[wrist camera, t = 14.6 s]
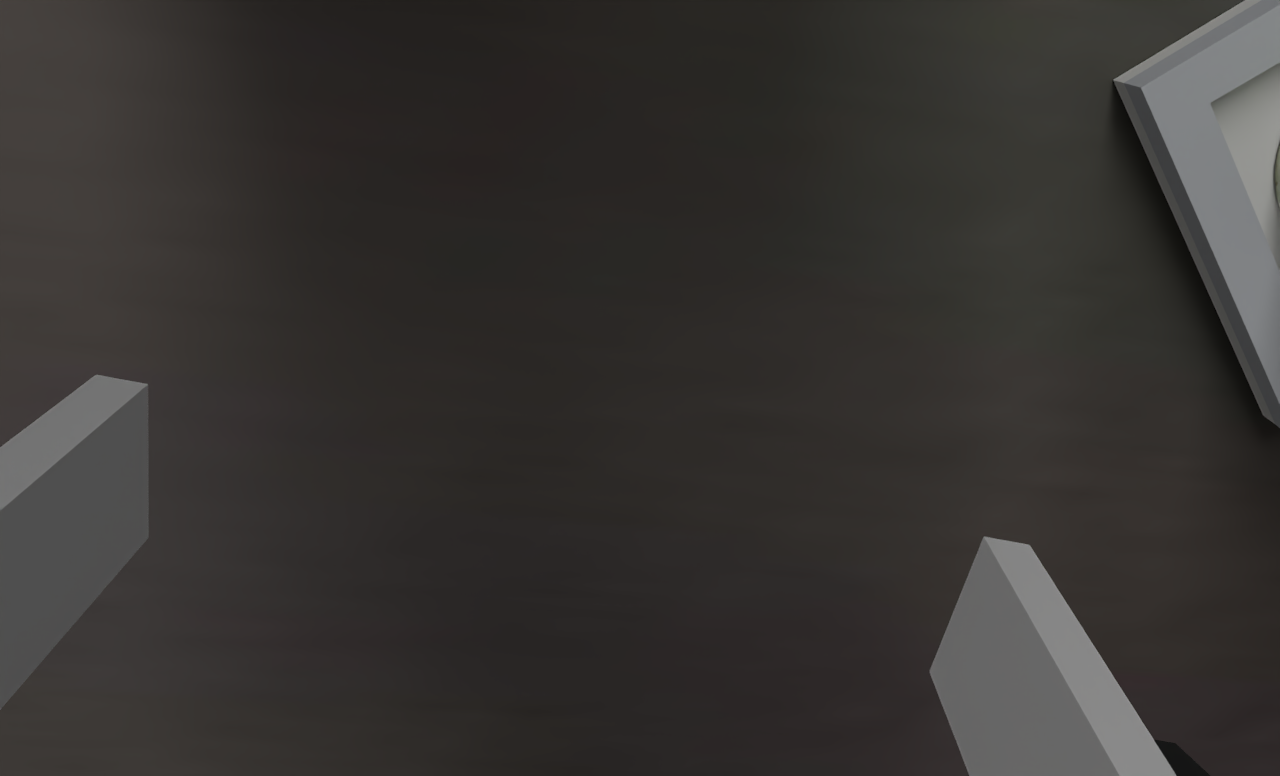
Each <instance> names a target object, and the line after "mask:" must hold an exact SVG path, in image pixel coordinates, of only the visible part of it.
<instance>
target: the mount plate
mask: <svg viewBox="0 0 1280 776" xmlns="http://www.w3.org/2000/svg"><path fill="white" fill-rule="evenodd" d="M1113 81H1114V83H1115V86H1116V88H1117V90H1118V92H1119V95H1120V97H1121V99H1122V101H1123V104H1124V106H1125V108H1126V110H1127V113H1128V115H1129V117H1130V119H1131V121H1132V124H1133V126H1134V128H1135V130H1136V133H1137V135H1138V137H1139V139H1140V142H1141V144H1142V146H1143V148H1144V151H1145V153H1146V155H1147V157H1148V159H1149V162H1150V164H1151V166H1152V168H1153V171H1154V173H1155V175H1156V177H1157V180H1158V182H1159V184H1160V186H1161V188H1162V191H1163V193H1164V195H1165V197H1166V200H1167V202H1168V204H1169V206H1170V209H1171V211H1172V213H1173V215H1174V218H1175V220H1176V222H1177V224H1178V226H1179V229H1180V231H1181V233H1182V235H1183V238H1184V240H1185V242H1186V244H1187V247H1188V249H1189V251H1190V253H1191V256H1192V258H1193V260H1194V262H1195V264H1196V267H1197V269H1198V271H1199V273H1200V276H1201V278H1202V280H1203V282H1204V285H1205V287H1206V289H1207V291H1208V293H1209V296H1210V298H1211V300H1212V302H1213V305H1214V307H1215V309H1216V311H1217V314H1218V316H1219V318H1220V320H1221V323H1222V325H1223V327H1224V329H1225V331H1226V334H1227V336H1228V338H1229V340H1230V343H1231V345H1232V347H1233V349H1234V352H1235V354H1236V356H1237V358H1238V361H1239V363H1240V365H1241V367H1242V369H1243V372H1244V374H1245V376H1246V378H1247V381H1248V383H1249V385H1250V387H1251V390H1252V392H1253V394H1254V396H1255V398H1256V401H1257V403H1258V405H1259V407H1260V410H1261V412H1262V414H1263V416H1265V417H1266V418H1267V419H1269V420H1270V421H1271V422H1273V423H1274V424H1275V425H1277V426H1278V427H1279V428H1280V207H1279V204H1278V200H1277V195H1276V186H1275V164H1276V158H1277V152H1278V149H1279V145H1280V0H1245V1H1243V2H1241V3H1240V4H1238V5H1236V6H1235V7H1233V8H1231V9H1230V10H1228V11H1226V12H1225V13H1223V14H1221V15H1220V16H1218V17H1217V18H1215V19H1213V20H1212V21H1210V22H1208V23H1207V24H1205V25H1203V26H1202V27H1200V28H1198V29H1197V30H1195V31H1193V32H1192V33H1190V34H1188V35H1187V36H1185V37H1183V38H1182V39H1180V40H1178V41H1177V42H1175V43H1173V44H1172V45H1170V46H1168V47H1167V48H1165V49H1163V50H1162V51H1160V52H1158V53H1157V54H1155V55H1154V56H1152V57H1150V58H1149V59H1147V60H1145V61H1144V62H1142V63H1140V64H1139V65H1137V66H1135V67H1134V68H1132V69H1130V70H1129V71H1127V72H1125V73H1124V74H1122V75H1120V76H1119V77H1117V78H1115V79H1114V80H1113Z"/></svg>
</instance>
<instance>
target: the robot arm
mask: <svg viewBox="0 0 1280 776" xmlns="http://www.w3.org/2000/svg"><path fill="white" fill-rule="evenodd" d="M147 539H148V384H144V383H138V382H133V381H127V380H122V379H116V378H111V377H105V376H100V375H95V376H94V377H92V378H91V379H90V380H89V381H87V382H86V383H85V384H83V385H82V386H81V387H79V388H78V389H77V390H75V391H74V392H73V393H71V394H70V395H69V396H67V397H66V398H65V399H63V400H62V401H61V402H60V403H58V404H57V405H56V406H54V407H53V408H52V409H50V410H49V411H48V412H46V413H45V414H44V415H42V416H41V417H40V418H38V419H37V420H36V421H34V422H33V423H32V424H31V425H29V426H28V427H27V428H25V429H24V430H23V431H21V432H20V433H19V434H17V435H16V436H15V437H13V438H12V439H11V440H9V441H8V442H7V443H5V444H4V445H3V446H1V447H0V709H1V708H2V707H3V706H4V705H5V703H6V702H7V701H8V700H9V699H10V698H11V696H12V695H13V694H14V693H15V692H16V691H17V690H18V688H19V687H20V686H21V685H22V684H23V683H24V681H25V680H26V679H27V678H28V677H29V676H30V674H31V673H32V672H33V671H34V670H35V669H36V667H37V666H38V665H39V664H40V663H41V662H42V661H43V659H44V658H45V657H46V656H47V655H48V654H49V652H50V651H51V650H52V649H53V648H54V647H55V645H56V644H57V643H58V642H59V641H60V640H61V638H62V637H63V636H64V635H65V634H66V633H67V632H68V630H69V629H70V628H71V627H72V626H73V625H74V623H75V622H76V621H77V620H78V619H79V618H80V616H81V615H82V614H83V613H84V612H85V611H86V609H87V608H88V607H89V606H90V605H91V604H92V603H93V601H94V600H95V599H96V598H97V597H98V596H99V594H100V593H101V592H102V591H103V590H104V589H105V587H106V586H107V585H108V584H109V583H110V582H111V580H112V579H113V578H114V577H115V576H116V575H117V573H118V572H119V571H120V570H121V569H122V568H123V567H124V565H125V564H126V563H127V562H128V561H129V560H130V558H131V557H132V556H133V555H134V554H135V553H136V551H137V550H138V549H139V548H140V547H141V546H142V544H143V543H144V542H145V541H146V540H147ZM929 672H930V675H931V677H932V680H933V682H934V685H935V687H936V690H937V693H938V695H939V698H940V700H941V703H942V706H943V708H944V711H945V713H946V716H947V719H948V721H949V724H950V726H951V729H952V732H953V734H954V737H955V739H956V742H957V745H958V747H959V750H960V752H961V755H962V757H963V760H964V763H965V765H966V768H967V770H968V773H969V776H1210V775H1209V774H1208V773H1207V772H1206V771H1205V770H1204V769H1203V768H1201V767H1200V766H1199V765H1198V764H1197V763H1196V762H1195V761H1194V760H1193V759H1192V758H1191V757H1190V756H1188V755H1187V754H1186V753H1185V752H1184V751H1183V750H1182V749H1181V748H1180V747H1179V746H1178V745H1177V744H1175V743H1171V742H1165V741H1159V740H1154V739H1153V738H1152V736H1151V735H1150V733H1149V732H1148V730H1147V728H1146V727H1145V725H1144V724H1143V722H1142V721H1141V719H1140V717H1139V716H1138V714H1137V713H1136V711H1135V710H1134V708H1133V707H1132V705H1131V703H1130V702H1129V700H1128V699H1127V697H1126V696H1125V694H1124V692H1123V691H1122V689H1121V688H1120V686H1119V685H1118V683H1117V681H1116V680H1115V678H1114V677H1113V675H1112V674H1111V672H1110V670H1109V669H1108V667H1107V666H1106V664H1105V663H1104V661H1103V659H1102V658H1101V656H1100V655H1099V653H1098V652H1097V650H1096V648H1095V647H1094V645H1093V644H1092V642H1091V641H1090V639H1089V637H1088V636H1087V634H1086V633H1085V631H1084V630H1083V628H1082V626H1081V625H1080V623H1079V622H1078V620H1077V619H1076V617H1075V616H1074V614H1073V612H1072V611H1071V609H1070V608H1069V606H1068V605H1067V603H1066V601H1065V600H1064V598H1063V597H1062V595H1061V594H1060V592H1059V590H1058V589H1057V587H1056V586H1055V584H1054V583H1053V581H1052V579H1051V578H1050V576H1049V575H1048V573H1047V572H1046V570H1045V568H1044V567H1043V565H1042V564H1041V562H1040V561H1039V559H1038V557H1037V556H1036V554H1035V553H1034V551H1033V550H1032V548H1031V546H1030V545H1027V544H1021V543H1016V542H1010V541H1005V540H1000V539H994V538H989V537H983V540H982V542H981V545H980V547H979V550H978V552H977V555H976V557H975V560H974V562H973V565H972V567H971V570H970V572H969V575H968V577H967V580H966V582H965V584H964V587H963V589H962V592H961V594H960V597H959V599H958V602H957V604H956V607H955V609H954V612H953V614H952V617H951V619H950V622H949V624H948V627H947V629H946V632H945V634H944V637H943V639H942V642H941V644H940V647H939V649H938V652H937V654H936V656H935V659H934V661H933V664H932V666H931V669H930V671H929Z"/></svg>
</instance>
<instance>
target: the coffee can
mask: <svg viewBox="0 0 1280 776" xmlns="http://www.w3.org/2000/svg"><path fill="white" fill-rule="evenodd" d="M1275 186H1276V195H1277V200H1278V204H1279V207H1280V145H1279V149H1278V152H1277V158H1276V164H1275Z"/></svg>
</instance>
